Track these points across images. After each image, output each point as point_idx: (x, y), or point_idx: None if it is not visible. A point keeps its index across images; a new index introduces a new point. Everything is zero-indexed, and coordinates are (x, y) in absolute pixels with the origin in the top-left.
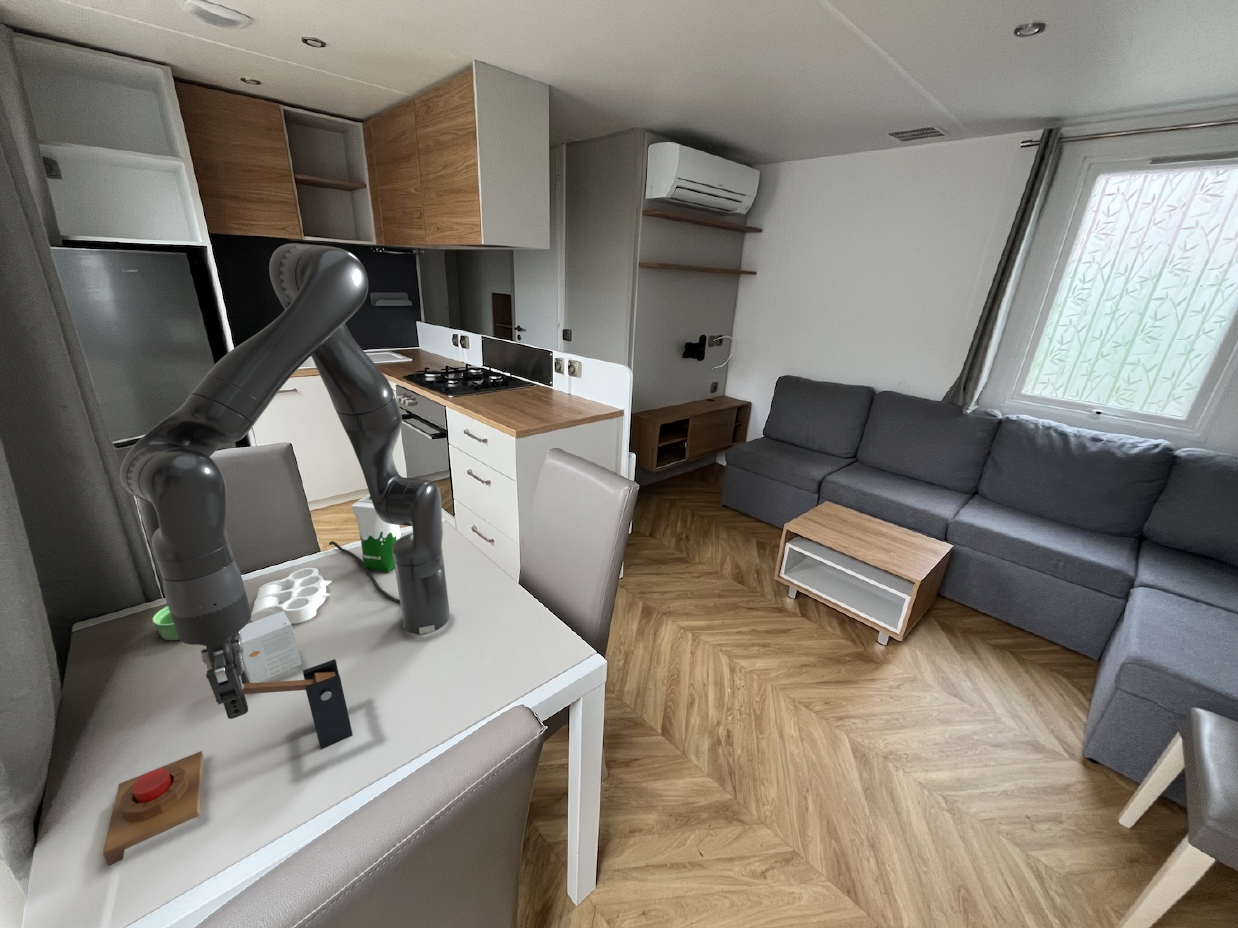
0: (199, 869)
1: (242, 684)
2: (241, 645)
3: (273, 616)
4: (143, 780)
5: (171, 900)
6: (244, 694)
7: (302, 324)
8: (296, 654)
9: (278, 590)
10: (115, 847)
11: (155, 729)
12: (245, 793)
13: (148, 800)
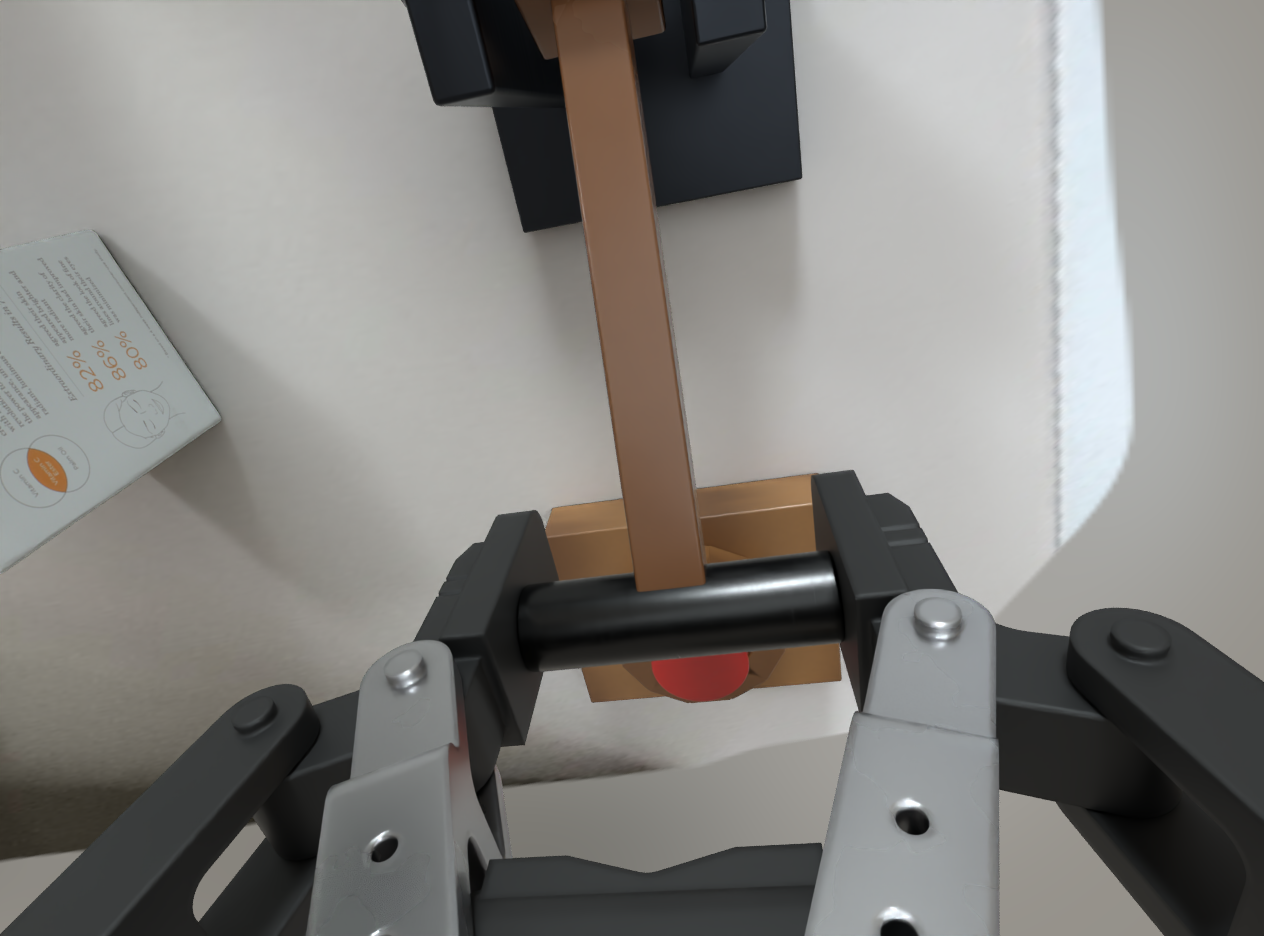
0: (1002, 446)
1: (887, 622)
2: (446, 879)
3: None
4: (689, 682)
5: (1059, 493)
6: (847, 548)
7: None
8: (14, 261)
9: None
10: (838, 660)
11: (353, 655)
12: (764, 365)
13: None
